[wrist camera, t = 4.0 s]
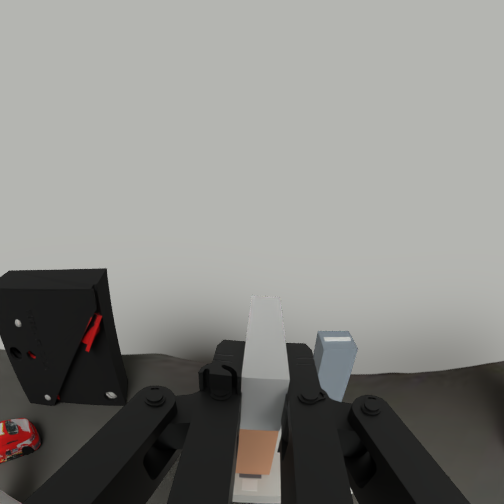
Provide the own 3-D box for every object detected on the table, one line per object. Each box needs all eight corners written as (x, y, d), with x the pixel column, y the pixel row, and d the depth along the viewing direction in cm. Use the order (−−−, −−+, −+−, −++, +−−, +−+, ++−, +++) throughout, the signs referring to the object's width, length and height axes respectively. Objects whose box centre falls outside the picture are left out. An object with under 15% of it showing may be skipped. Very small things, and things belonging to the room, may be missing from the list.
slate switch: (335, 418, 30) (358, 347, 27) (306, 419, 30) (324, 348, 27) (330, 399, 34) (349, 329, 31) (303, 400, 34) (318, 329, 31)
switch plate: (349, 497, 19) (356, 488, 19) (225, 501, 20) (224, 493, 19) (325, 394, 39) (328, 382, 38) (239, 392, 39) (239, 381, 38)
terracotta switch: (269, 474, 22) (283, 408, 19) (232, 472, 22) (232, 405, 19) (269, 448, 26) (281, 377, 23) (235, 446, 26) (236, 375, 23)
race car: (-17, 471, 9) (-33, 453, 8) (-24, 444, 12) (-37, 426, 11) (47, 450, 20) (34, 433, 18) (36, 425, 23) (25, 407, 22)
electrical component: (128, 373, 40) (109, 263, 35) (125, 414, 31) (93, 290, 26) (44, 369, 35) (15, 266, 30) (29, 405, 26) (-16, 289, 21)
